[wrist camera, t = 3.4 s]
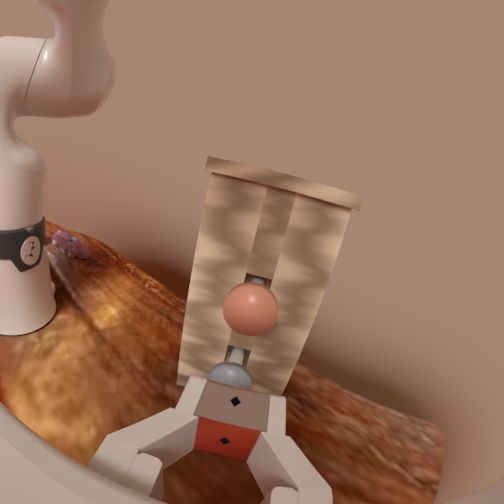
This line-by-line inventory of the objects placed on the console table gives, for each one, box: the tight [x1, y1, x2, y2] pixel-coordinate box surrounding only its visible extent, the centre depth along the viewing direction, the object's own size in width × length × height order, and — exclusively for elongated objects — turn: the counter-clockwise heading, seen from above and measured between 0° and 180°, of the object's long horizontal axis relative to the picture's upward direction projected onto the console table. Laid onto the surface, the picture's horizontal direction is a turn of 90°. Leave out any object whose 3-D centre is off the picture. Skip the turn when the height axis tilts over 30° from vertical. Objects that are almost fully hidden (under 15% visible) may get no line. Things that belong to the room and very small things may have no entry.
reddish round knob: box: [223, 273, 277, 336], centre depth 24 cm, size 4×9×4 cm, turn 172°
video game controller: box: [51, 230, 90, 259], centre depth 50 cm, size 10×5×7 cm, turn 77°
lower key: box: [208, 345, 253, 390], centre depth 26 cm, size 4×9×4 cm, turn 172°
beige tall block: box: [177, 156, 362, 396], centre depth 27 cm, size 13×6×25 cm, turn 82°
